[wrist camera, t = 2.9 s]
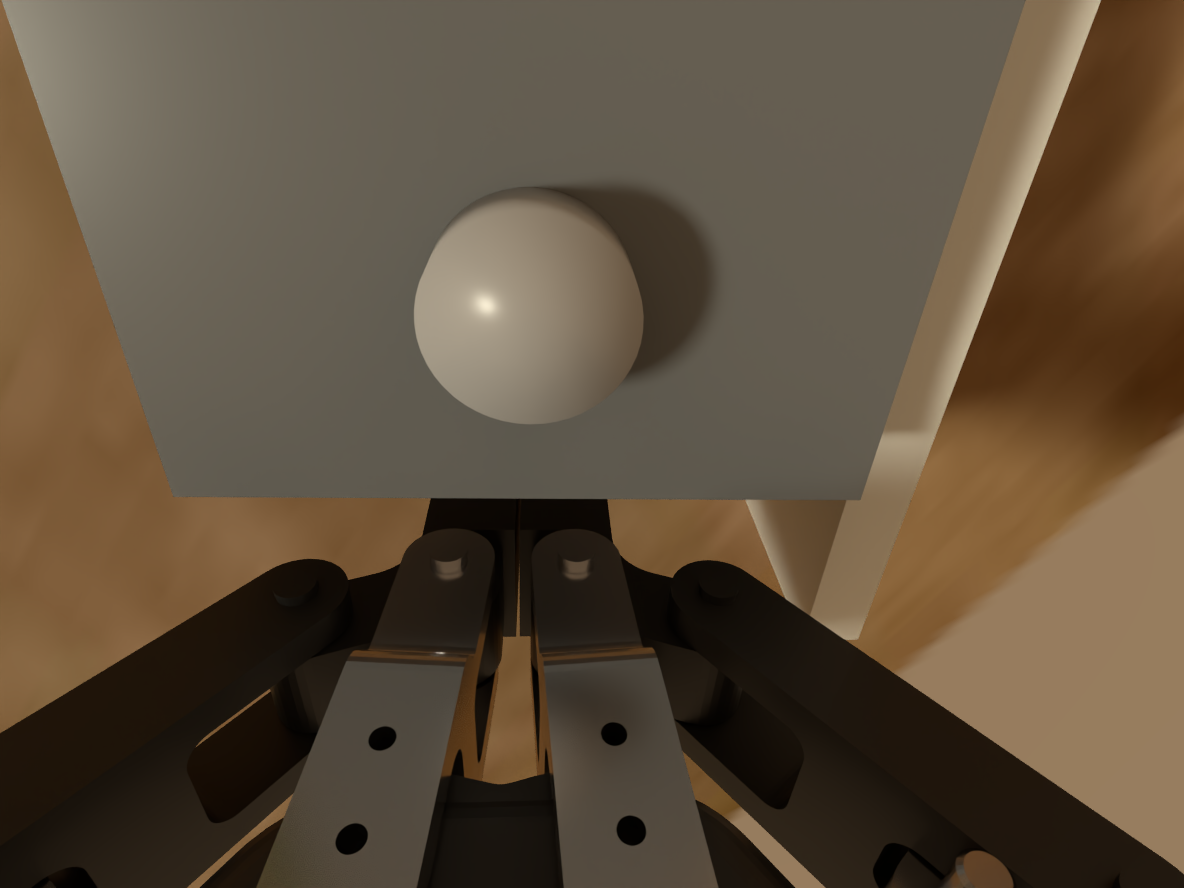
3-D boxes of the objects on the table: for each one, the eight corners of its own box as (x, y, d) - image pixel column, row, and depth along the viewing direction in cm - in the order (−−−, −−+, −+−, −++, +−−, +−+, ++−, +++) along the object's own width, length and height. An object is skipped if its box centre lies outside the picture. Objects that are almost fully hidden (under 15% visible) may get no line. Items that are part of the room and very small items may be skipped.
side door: (907, -697, 9) (1656, -2129, 3) (1033, -679, 9) (1995, -2002, 3) (712, 428, 18) (796, 640, 12) (776, 429, 18) (890, 639, 12)
